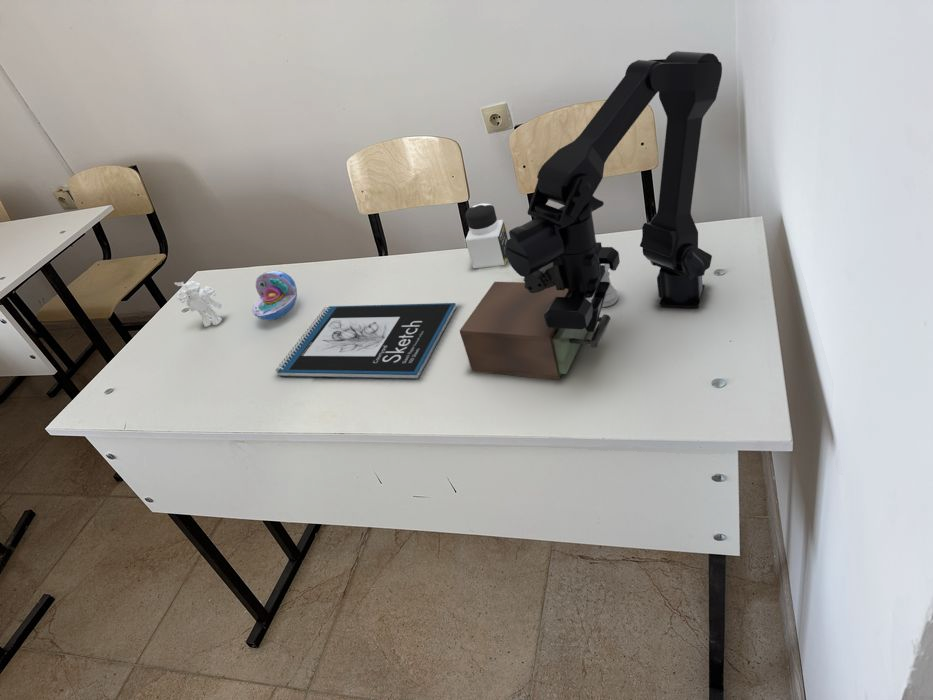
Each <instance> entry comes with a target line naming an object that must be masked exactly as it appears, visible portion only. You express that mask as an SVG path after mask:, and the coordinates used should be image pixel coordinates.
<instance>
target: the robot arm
mask: <svg viewBox="0 0 933 700" xmlns="http://www.w3.org/2000/svg"><path fill="white" fill-rule="evenodd" d="M722 74H723V66H722V62H721V61H720V60H719V59H718V56H717V55H715V54H714V53H710V52H696V51H695V52H694V51H681V50H679V51H678V50H675V51H673V52H671V53H669V55H667V56H666V58H661V59H660V58H659V59H649V60H645V59H637V60H635V61H633V62H631V63H630V64H629V65H628V66H627V68H626V70H625V74H624V77H622V79H621V80H620V81H619V83H618V84H617V86H616V87H615V88H614V89H613V90H612V92H611V93H610V94H609V96H608V97H607V99H606V100H605V101H604V103H603V104H602V105H601V107H600V108H599V109H598V111H596V113H595V115H594V116H593V117H592V118H591V119H590V121H589V122H588V124H587V125H586V127H584V128H583V130H582V132H581V133H580V134H579V135H578V136H577V138H575V139H574V140H573V141H571V142H570V143H568V144H566V145H564V146H563V147H561V148H559V149H558V150H557V151H555V152H554V153H553V154H552V155H551V156H550V157H549V158H548V159H547V160H546V161H545V162H544V163H543V164H542V166H541V167H540V168H539V170H538V172H537V174H536V175H537V176H536V178H537V182H536V185H535V188H534V191H533V194H532V197H531V200H530V203H529V206H528V208H527V209H528V210H527V215H528V216H531V217H533V219H531V220H529V221H527V222H526V223H524V224H522V225H519V226H515V227H513V228H512V229H509V231H508V234H509V238H508V240H507V242H506V249H505V253H506V256H507V261H508V263H509V265H510V266H511V268H512V269H513V270H514V271H515V272H516V274H518V275H519V276H520V277H524V278H523V282H525V288H526V289H528V291H529V292H531V293H538V292H540V291H543V290H544V289H546V288H550V287H553V286H555V285H556V290H565V289H568V292H567V294H566V296H565V297H556V298H555V299H554V300H553V301H552V302H551V304H550V305H549V307H548V309H547V310H546V312H545V314H544V317H545V322H546V325H547V326H548V327H550V328H566V329H581V330H582V329H584V328H585V329H586V330H587V333H594V332H595V330H596V328H597V326H598V323H599V322H598V319H599V317H601V316H600V315H601V312H602V310H603V307H602V306H603V303H604V300H605V297H606V294H607V291H608V288H609V286H610V283H609V282H601V280H602V278H603V276H604V274H605V266H604V265H601V264H609V266H610V268H609V270H610V271H612V272H613V271H614V272H615V271H616V270H617V269H618V267H619V265H620V262H621V261H620V253H619V251H618V250H617V249H616V248H614V247H613V246H602V242H600V241H599V242H597V238H596V233H595V225H594V219H593V212H595V211H596V210H598V209H600V208H602V207H603V206H604V205H605V201H603V200H602V199H601V200H600V199H598V198H596V197H595V196H594V194H595V192H596V190H597V189H598V188H599V185H600V183H601V182H602V180H603V177H604V172H605V171H604V170H605V164H606V162H607V160H608V159H609V157H610V156H611V154H612V153H613V151H614V150H615V149H616V148H617V146H618V145H619V143H620V142H621V141H622V139H624V137H625V135H626V134H627V133H628V132H629V130H630V129H631V128H632V127H633V125H634V124H635V122H636V121H637V120H638V118H639V117H640V116H641V115H642V113H643V112H644V110H645V109H646V108H647V106H648V105H649V104H650V103H651V101H652V100H653V99H654V97H655V96H656V94H657V93H658V98H659V102H660V104H661V106H662V109H663V111H664V113H665V116H666V126H665V138H664V148H663V157H662V167H661V177H660V186H659V196H658V206H657V212H656V214H655V215H654V216H653V217H652V219H651V221H649V222H644V223H643V225H642V228H641V230H642V231H641V233H642V235H641V236H642V237H641V241H640V244H639V247H640V248H642V254H643V257H645V258H646V259H647V260H648V261H649V262H650V264H651V265H652V266H654V267H658V268H659V272H658V274H657V276H656V282H657V293H658V298H659V299H660V300H659V307H663V308H684V309H685V308H687V309H698V308H699V307H700V305H701V303H702V299H703V296H704V294H705V293H704V292H705V290H706V285H705V284H703V276H704V275H705V272H706V271H707V270H708V269H710V267H711V263H712V259H713V258H712V257H713V255H712V254H710V253H709V252H707V251H705V250H703V249H701V248H700V247H699V230H698V228H697V225H696V224H695V221H694V219H693V216H692V204H693V196H694V189H695V181H696V172H697V164H698V156H699V149H700V142H701V141H700V140H701V131H702V125H703V119H704V117H705V115H706V114H707V112H708V111H710V109H711V107H712V105H713V104H714V102H716V99H717V96H718V92H719V88H720V83H721V80H722V76H723V75H722ZM549 201H550V202H553V203H556V204H560V205H562V206H561V207H559V208H557V207H554V206H552V205H548V204H547V203H548V202H549Z"/></svg>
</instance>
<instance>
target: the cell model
mask: <svg viewBox="0 0 933 700" xmlns="http://www.w3.org/2000/svg"><path fill="white" fill-rule="evenodd" d="M255 289H256V292H257V294H258V296H259V298H258V299H257V300H256V301H255V302H254V303H253V305H252V307H251V308H252V309H251V312H252V314H253V315H254V316H255V317H256V318H258V319H260V320H265V321H274V320H279V319H281V318H283V317H285V316H287V315H288V313H290V312H291V311H292V309H293V308H294V306H295V305H296V302H297V298H298V297H297V296H298V290H297V286H296V282H295V280H294V279H293V278H292V277H291V276H290V275H289V274H287V273H286V272H284V271H280V270H269V271H267V272H263V273H261V274H260V275H259V276H258V277H257V278H256V280H255Z"/></svg>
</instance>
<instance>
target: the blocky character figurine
mask: <svg viewBox="0 0 933 700" xmlns="http://www.w3.org/2000/svg"><path fill="white" fill-rule="evenodd" d="M173 284H174V285H175V286H177V287H181V289H180V291H178V292H177V296H176V299H178V301H179V302H180V303H182V304H184V303H186V306H187V307H188V309H189V311H190V312H192V313H193V312H195V311H197V313H199V315H200V316H201V321H202V323H203V326H204V328H205V327H210V326H211V325H213V326H217V325H219V324H220V323H222V320H223V319H222V317H221V316H218V315H217V313H216V311H215V310H214V309H213V307H215V308H218V309H221V308H222V303H221V302H219V301H216V300H214V299H213V298H211V296H213V297H215V296H217V292H216V289H214V288H213V287H211V286H208V285H205V286H204V288H202V287H201V286H200V285H201V284H200V282H196V281H194V280H190V281H188V282H187V283H184V281H181V282H177V281H175V282H174V283H173ZM183 287H184V288H183ZM211 305H212V306H213V307H212V306H211Z"/></svg>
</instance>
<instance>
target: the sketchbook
mask: <svg viewBox="0 0 933 700" xmlns="http://www.w3.org/2000/svg"><path fill="white" fill-rule="evenodd" d="M456 309H457V304H456V302H444V303H443V302H442V303H441V302H438V303H437V302H436V303H435V302H434V303H403V304H369V305H368V304H365V305H329V306H324V307H323V309H322V310H321V311H320V312H319V314H318V315H317V316H316V318H315V319H314V320H313V321H312V323H311V324H310V325H309V326H308V328H307V329H306V330H305V331H304V333H303V334H302V335H301V336H300V338H299V339H298V340H297V342H296V343H295V344H294V346H292V348H291V349H290V350H289V352H288V353H287V354H286V356H285V357H284V358H283V360H282V361H281V362H280V363H279V365H277V367H276V368H275V371H276V373H277V374H278V376H279V377H297V378H298V377H301V378H302V377H303V378H304V377H305V378H346V379H347V378H349V379H350V378H354V379H356V378H357V379H397V380H398V379H401V380H418V379H419V378H420V376H421V374H422V372H423V370H424V369H425V367H426V365H427V363H428V361H429V360H430V358H431V356H432V354H433V352H434V350H435V348H436V346H437V344H438V343H439V341H440V339H441V337H442V335H443V334H444V332H445V329H446V328H447V326H448V324H449V322H450V320H451V318H452V317H453V315H454V313H455V311H456Z"/></svg>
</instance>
